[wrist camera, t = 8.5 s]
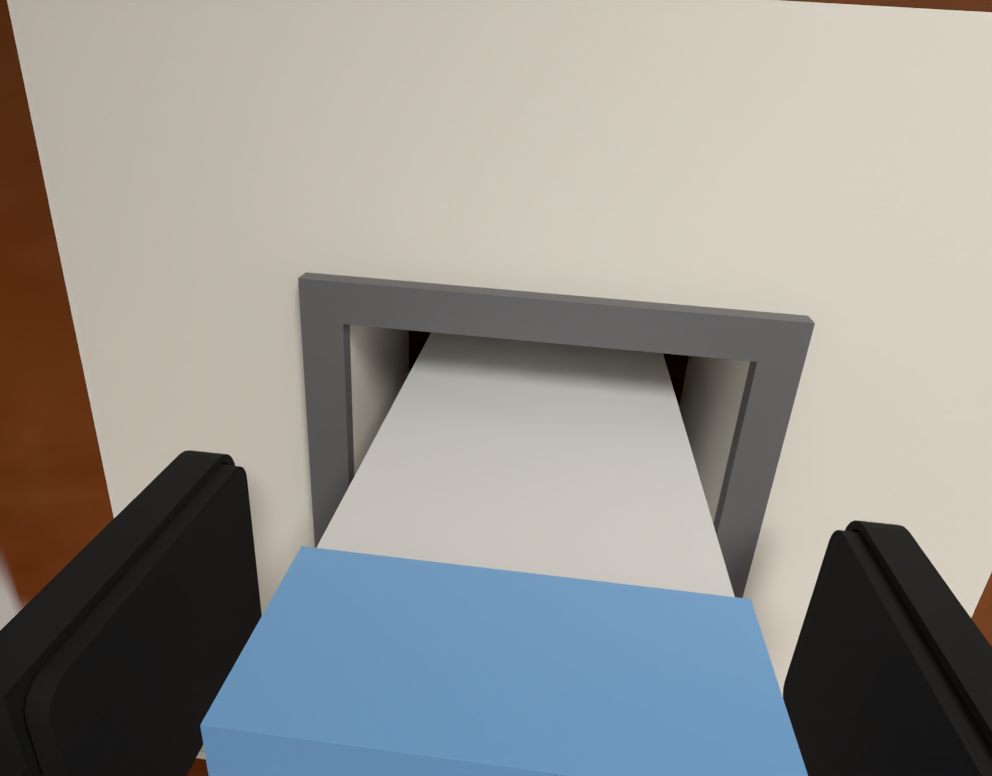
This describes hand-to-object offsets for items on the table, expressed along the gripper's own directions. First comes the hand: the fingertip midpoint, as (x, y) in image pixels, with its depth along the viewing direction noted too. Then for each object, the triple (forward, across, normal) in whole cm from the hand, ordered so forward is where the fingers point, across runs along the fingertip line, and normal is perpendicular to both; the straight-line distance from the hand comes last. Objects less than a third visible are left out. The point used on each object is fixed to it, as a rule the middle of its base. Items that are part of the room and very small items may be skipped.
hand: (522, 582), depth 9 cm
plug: (+6, 0, 0) cm, 6 cm away
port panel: (+6, 0, 0) cm, 6 cm away
